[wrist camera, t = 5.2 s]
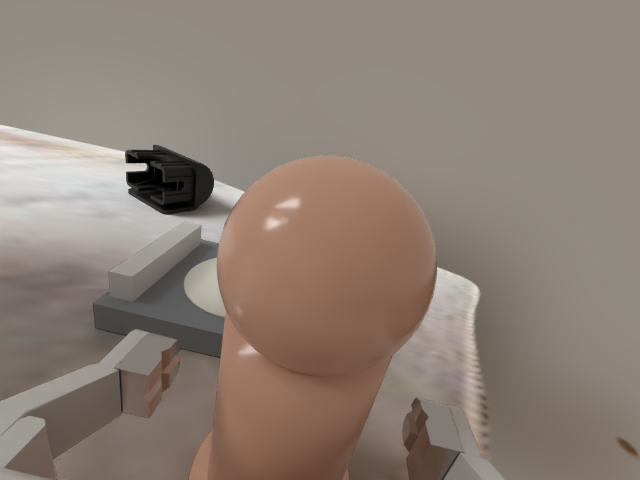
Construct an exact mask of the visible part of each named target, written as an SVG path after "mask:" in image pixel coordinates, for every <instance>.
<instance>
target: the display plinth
mask: <svg viewBox="0 0 640 480" xmlns="http://www.w3.org/2000/svg"><path fill="white" fill-rule="evenodd" d="M218 247H219V243H214V242H210V241H206V240H202V239H201V225H198V224H194V223H190V222H184V223H182V224H180V225H179V226H177V227H176V228H174V229H173V230H171V231H170V232H168V233H166V234H165V235H163V236H162V237H160V238H159V239H157V240H156V241H154V242H153V243H151V244H149V245H148V246H146V247H145V248H143V249H142V250H140V251H139V252H137V253H136V254H134V255H132V256H131V257H129V258H128V259H126V260H125V261H123V262H122V263H120V264H118V265H117V266H115V267H114V268H112V269H111V270H109V271H108V274H109V289H110V291H109V292H108V293H106V294H105V295H104V296H102V297H101V298H100V299H98V300H97V301H96V302H94V303H93V311H94V322H95V328H98V329H102V330H106V331H110V332H114V333H119V334H123V335H128V334H129V333H130V332H131V331H133V330H135V329H138V330H142V331H146V332H149V333H154V334H158V335H161V336H165V337H169V338H173V339H176V340H179V341H180V348H182V349H186V350H190V351H194V352H198V353H203V354H207V355H211V356H215V357H219V358H221V349H222V341H223V332H224V323H225V315H226V310H225V307H224V304H223V301H222V298H221V294H220V291H219V286H218V279H217V253H218Z"/></svg>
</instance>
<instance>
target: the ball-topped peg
mask: <svg viewBox="0 0 640 480" xmlns="http://www.w3.org/2000/svg"><path fill="white" fill-rule="evenodd" d="M436 278H437V256H436V249H435V242H434V239H433V235H432V232H431V229H430V226H429V224H428V222H427V220H426V218H425V215H424V213H423V211H422V210H421V208H420V207H419V205H418V203H417V202H416V201H415V199H414V198H413V197H412V196H411V195H410V193H409V192H408V191H407V190H406V189H405V188H404V187H403V186H402V185H401V184H400V183H399V182H397V181H396V180H395V179H394V178H393V177H391V176H390V175H388V174H386V173H385V172H383V171H382V170H380V169H379V168H377V167H375V166H372V165H369V164H367V163H365V162H362V161H360V160H356V159H352V158H348V157H342V156H327V155H324V156H314V157H307V158H302V159H298V160H294V161H291V162H289V163H286V164H284V165H281V166H279V167H277V168H275V169H273V170H272V171H270V172H268V173H266V174H265V175H264V176H263V177H261V178H260V179H259V180H258V181H256V182H255V183H254V184H252V185H251V186H250V187H249V188H248V190H247V191H246V192H245V193H244V194H243V195H242V196H241V197H240V199H239V200H238V202H237V203H236V204H235V206H234V207H233V209H232V211H231V213H230V214H229V216H228V218H227V220H226V222H225V225H224V228H223V231H222V234H221V237H220V241H219V247H218V253H217V279H218V286H219V291H220V294H221V298H222V301H223V304H224V307H225V310H226V315H225V323H224V332H223V341H222V349H221V358H220V367H219V376H218V385H217V393H216V402H215V411H214V420H213V429H212V431H211V432H210V433H209V434H208V436H207V437H206V438H205V440H204V441H203V443H202V445H201V447H200V448H199V450H198V452H197V455H196V457H195V459H194V462H193V465H192V469H191V472H190V477H189V480H349V474H348V468H347V467H348V465H349V462H350V460H351V457H352V455H353V452H354V450H355V447H356V445H357V442H358V440H359V437H360V435H361V433H362V430H363V428H364V425H365V423H366V420H367V418H368V415H369V413H370V410H371V408H372V405H373V403H374V400H375V398H376V396H377V393H378V391H379V388H380V386H381V383H382V381H383V378H384V376H385V373H386V371H387V368H388V366H389V363H390V361H391V358H392V355H393V354H395V353H396V352H397V351H398V350H399V349H400V348H401V347H402V346H403V345H404V344H405V343H407V342H408V341H409V340H410V338H411V337H412V336H413V334H414V333H415V332H416V331H417V329H418V328H419V326H420V324H421V323H422V321H423V319H424V317H425V315H426V313H427V312H428V309H429V306H430V303H431V300H432V298H433V294H434V290H435V284H436Z"/></svg>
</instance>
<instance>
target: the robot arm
mask: <svg viewBox="0 0 640 480" xmlns="http://www.w3.org/2000/svg"><path fill="white" fill-rule="evenodd" d="M179 350H180V341H179V340H176V339H173V338H169V337H165V336H161V335H158V334H154V333H149V332H146V331H142V330H138V329H135V330H133V331H131V332H130V333H129V334H128V335H127V336H126V337H125V338H124V339H123V340H122V341H121V342H120V343H119V344H117V345H116V346H115V347H114V348H113V349H112V350H111V351H110V352H109V353H108V354H107V355H106V356H105V357H104V358H103V359H102V360H101V361H100V362H99V363H98V364H93V363H92V364H90V365H87V366H85V367H83V368H80V369H78V370H75V371H73V372H70V373H68V374H65V375H63V376H60V377H58V378H56V379H53V380H51V381H48V382H46V383H43V384H41V385H38V386H36V387H33V388H31V389H29V390H26V391H24V392H21V393H19V394H16V395H14V396H11V397H9V398H6V399H4V400H2V401H0V480H57V475H56V471H55V466H54V461H53V459H54V458H56V457H57V456H59V455H60V454H62V453H63V452H65V451H66V450H68V449H70V448H71V447H73V446H74V445H76V444H77V443H79V442H80V441H82V440H83V439H85V438H86V437H88V436H89V435H91V434H92V433H94V432H95V431H97V430H98V429H100V428H101V427H103V426H105V425H106V424H108V423H109V422H111V421H112V420H114V419H115V418H117V417H118V416H120V415H121V413H126V414H131V415H135V416H140V417H145V418H149V417H150V416H151V414H152V413H153V411H154V410H155V408H156V407H157V405H158V404H159V402H160V401H161V393H162V392H163V391H164V390H166V389H168V388H169V387H170V386H171V384H172V383H173V381H174V379H175V377H176V375H177V372H178V369H179V365H180V358H179V357H178V355H177V353H178V352H179ZM411 406H412V412H410V413H408V414H407V415H406V417H405V420H404V424H403V442H404V446H405V447H406V448H407V450H408V451H409V455H408V457H407V458H406V461H407V467H408V473H409V479H410V480H505V479H504V478H503V476H502V475H501V474H500V473H499V472H498V471H497V470H496V469H495V468H494V466H493V465H492V464H491V463H490V462H489V461H488V460H487V459H485V458H482V456H481V453H480V451H479V448H478V446H477V443H476V441H475V438H474V435H473V433H472V430H471V428H470V425H469V423H468V420H467V417H466V415H465V412H464V410H463V409H462V408H460V407H456V406H452V405H447V404H443V403H439V402H435V401H430V400H426V399H422V398H415V399H414V401H413V403H412V405H411Z"/></svg>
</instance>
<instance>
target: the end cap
mask: <svg viewBox="0 0 640 480" xmlns="http://www.w3.org/2000/svg"><path fill="white" fill-rule="evenodd" d="M125 157H126V163H146V164H147V169H146V170H145V171H136V172H126V181H127V184H128V185H129V186H130V187H131V189H128V193H129V194H130V195H132V196H133V197H135V198H137V199H138V200H140V201H142V202H143V203H145V204H147V205H148V206H150V207H152V208H154V209H155V210H157V211H159V212H160V213H162V214H173V213H180V212H186V211H192V210H194V209H196V208H197V207H198V206H200V205H201V204H203V203H204V202H205V201H206V200H207V199H208V198H209V197H210V195H211V193H212V191H213V187H214V178H213V175H212V172H211V171H210V169H209V168H208V167H207V166H205V165H204V164H202V163H199V162H197V161H195V160H192V159H190V158H187V157H185V156H183V155H181V154H178V153H176V152H174V151H171V150H169V149H167V148H164V147H161V146H159V145H153V150H127V151H126V152H125Z"/></svg>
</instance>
